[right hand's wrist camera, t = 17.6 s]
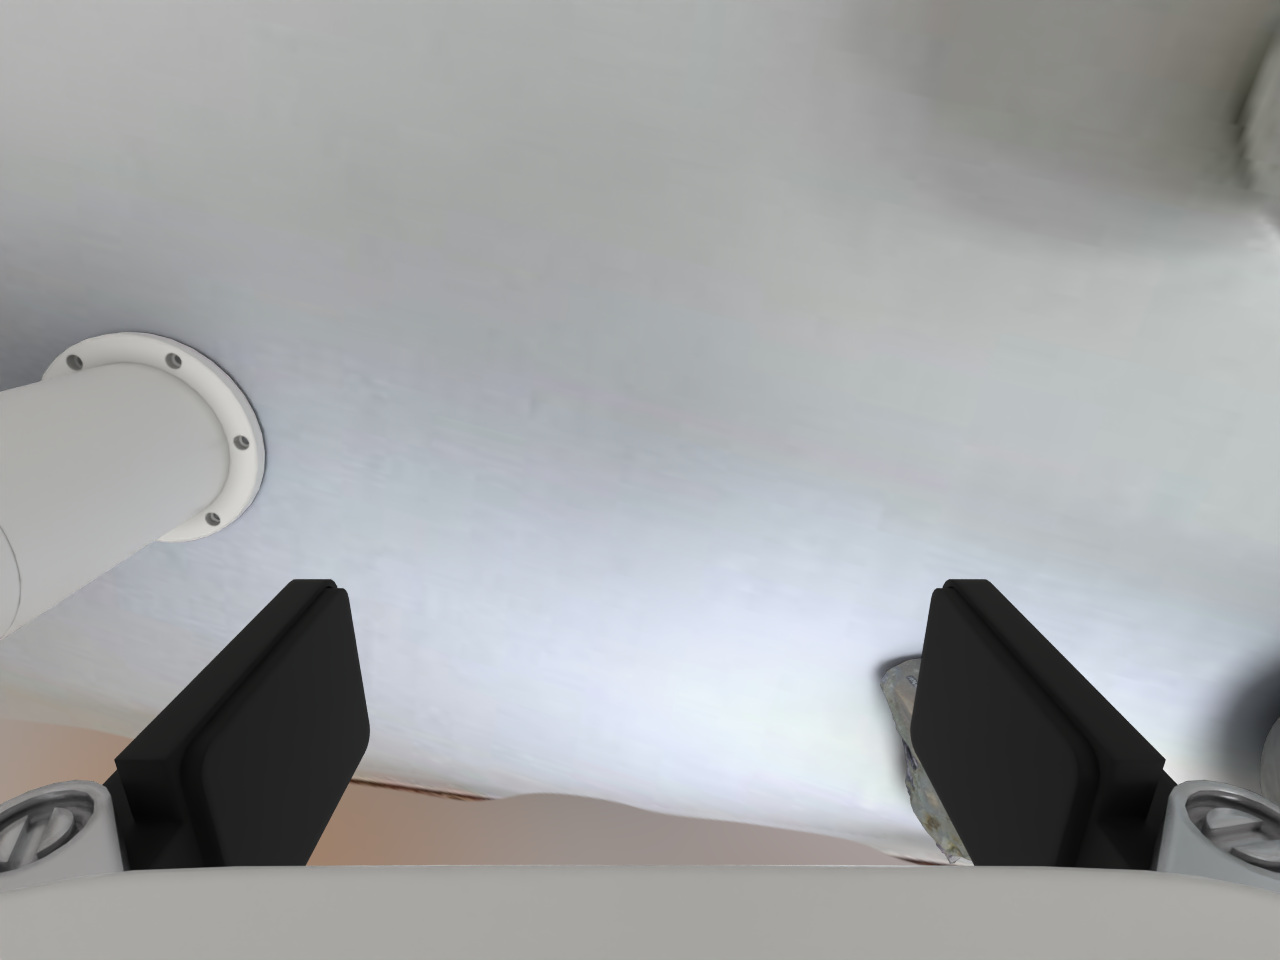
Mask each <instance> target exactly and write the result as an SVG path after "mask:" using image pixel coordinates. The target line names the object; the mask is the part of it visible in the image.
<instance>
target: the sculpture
mask: <svg viewBox="0 0 1280 960" xmlns="http://www.w3.org/2000/svg"><path fill="white" fill-rule="evenodd" d="M1260 785H1261V792H1262V796H1263V797H1265V798H1268V799H1270V800H1272V801H1274V802H1276V803H1278V804H1280V717H1279V718H1278V719H1277V720H1276V722H1275V723H1274V724H1273V726H1272V727H1271V729H1270V731H1269V733H1268V735H1267V737H1266V740H1265V744H1264V746H1263V751H1262V755H1261V763H1260Z"/></svg>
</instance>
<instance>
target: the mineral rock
mask: <svg viewBox="0 0 1280 960" xmlns="http://www.w3.org/2000/svg"><path fill="white" fill-rule="evenodd" d="M920 664H921V658H917V659H910V660H908V661H905V662H903V663H901V664H899V665H897V666H895V667H893V668H891V669H889V670H887V672H886V674H885V675H884V676H883V678H882V679H881V688H882V690H883V692H884V694H885V696H886V698H887V701H888V704H889V707H890V709H891V711H892V715H893V719H894V721H895V723H896V729H897V731H898V732H899V734H900V735H901V736H902V738H903V744H904V748H905V756H906V761H907V763H908V764H907V768H908V769H907V774H906V780H905V783H906V787H907V789H908V793H909V795H910V800H911V806H912V808H913V811H914V813H915V815H916V816H917V818H918V819H919V821H920V822H921V824H922V826H923V827H924V828H925V830H926V831H927V833H928V834H929V835H930V836H931V837H932V838H933V839H934V840H935V842H936V845H937V847H938V848H939V849H940V850H941V851H942V853H944V854H945V856H946V857H947V859H948V860H949V862H950V864H952V863H955V862H956V861H957V860H958V859H960V857H963V858H965V859H967V860H971V858H970V856H969V854H968V852H967V850H966V849H965V847H964V845H963V843H962V841H961V839H960V837H959V835H958V833H957V831H956V829H955V828H954V826H953V824H952V822H951V820H950V818H949V816H948V814H947V812H946V810H945V809H944V807H943V805H942V803H941V801H940V799H939V797H938V795H937V793H936V791H935V789H934V788H933V786H932V784H931V782H930V780H929V778H928V776H927V774H926V772H925V770H924V768H923V767H922V765H921V763H920V761H919V759H918V757H917V755H916V753H915V751H914V749H913V746H912V742H911V736H910V725H911V719H912V712H913V706H914V700H915V694H916V688H917V682H918V676H919V670H920ZM971 861H972V860H971Z"/></svg>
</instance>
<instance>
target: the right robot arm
mask: <svg viewBox="0 0 1280 960" xmlns="http://www.w3.org/2000/svg"><path fill="white" fill-rule="evenodd" d="M180 359H181V360H180ZM246 438H247V439H246ZM247 440H248V441H247ZM264 465H265V449H264V443H263V437H262V432H261V429H260V427H259V424H258V421H257V418H256V416H255V413H254V411H253V410H252V408H251V406H250V404H249V403H248V401H247V399H246V397H245V396H244V394H243V393H242V392H241V390H240V389H239V388H238V387H237V385H236V384H235V383H234V382H233V381H232V379H231V378H230V377H229V376H228V375H227V374H226V373H225V372H224V371H222V370H221V369H220V368H219V367H218V366H217V365H216V364H215V363H214V362H212V361H211V360H209V359H208V358H206V357H205V356H203V355H202V354H200V353H199V352H197V351H196V350H194V349H193V348H190V347H188V346H186V345H184V344H181V343H179V342H177V341H175V340H173V339H169V338H166V337H162V336H158V335H154V334H150V333H140V332H120V333H111V334H105V335H101V336H97V337H92V338H88V339H85V340H83V341H81V342H79V343H77V344H75V345H73V346H71V347H69V348H67V349H66V350H65V351H64V352H63V353H61V354H60V355H59V356H58V357H57V358H55V359H54V360H53V362H52V363H51V365H50V366H49V367H48V369H47V370H46V371H45V373H44V374H43V377H42V379H41V381H40V382H36V383H32V384H28V385H24V386H20V387H16V388H12V389H8V390H4V391H1V392H0V641H1V640H2V639H4V638H5V637H7V636H9V635H10V634H12V633H13V632H15V631H16V630H18V629H19V628H21V627H23V626H24V625H26V624H27V623H29V622H30V621H32V620H33V619H35V618H36V617H38V616H40V615H41V614H43V613H44V612H46V611H47V610H49V609H50V608H52V607H53V606H55V605H57V604H58V603H60V602H61V601H63V600H64V599H66V598H67V597H69V596H70V595H72V594H74V593H75V592H77V591H78V590H80V589H81V588H83V587H84V586H86V585H87V584H89V583H91V582H92V581H94V580H95V579H97V578H98V577H100V576H101V575H103V574H104V573H106V572H108V571H109V570H111V569H112V568H114V567H115V566H117V565H118V564H120V563H121V562H123V561H125V560H126V559H128V558H129V557H131V556H132V555H134V554H135V553H137V552H138V551H140V550H142V549H143V548H145V547H146V546H148V545H149V544H151V543H152V542H154V541H160V542H174V543H175V542H184V541H194V540H197V539H200V538H203V537H207V536H210V535H212V534H214V533H216V532H218V531H219V530H221V529H223V528H225V527H227V526H228V525H229V524H231V523H232V522H233V521H235V520H236V519H237V518H239V517H240V516H241V515H242V514H243V513H244V511H245V510H246V509H247V508H248V507H249V506H250V505H251V504H252V502H253V500H254V498H255V496H256V494H257V492H258V491H259V489H260V485H261V481H262V478H263V474H264ZM369 736H370V725H369V719H368V712H367V706H366V700H365V694H364V688H363V682H362V676H361V670H360V664H359V658H358V652H357V645H356V639H355V633H354V627H353V621H352V615H351V609H350V603H349V597H348V593H347V592H346V590H345V589H343V588H337V585H336V584H335V582H334V581H333V580H331V579H294V580H292V581H291V582H289V583H288V584H287V585H286V586H285V587H284V588H283V589H282V590H281V591H280V592H279V593H278V594H277V596H276V597H275V598H274V599H273V600H272V601H271V602H270V603H269V604H268V605H267V606H266V607H265V608H264V609H263V610H262V611H261V612H260V613H259V614H258V615H257V616H256V617H255V618H254V619H253V620H252V621H251V622H250V623H249V624H248V625H247V626H246V627H245V628H244V629H243V630H242V631H241V632H240V633H239V634H238V635H237V636H236V637H235V638H234V639H233V640H232V641H231V642H230V643H229V644H228V645H227V646H226V647H225V648H224V649H223V650H222V651H221V652H220V653H219V654H218V655H217V656H216V657H215V658H214V659H213V660H212V661H211V662H210V663H209V664H208V665H207V666H206V667H205V668H204V669H203V670H202V671H201V672H200V673H199V674H198V675H197V676H196V677H195V678H194V679H193V680H192V681H191V682H190V684H189V685H188V686H187V687H186V688H185V689H184V690H183V691H182V692H181V693H180V694H179V695H178V696H177V697H176V698H175V699H174V700H173V701H172V702H171V703H170V704H169V705H168V706H167V707H166V708H165V709H164V710H163V711H162V712H161V713H160V714H159V715H158V716H157V717H156V718H155V719H154V720H153V721H152V722H151V723H150V724H149V725H148V726H147V727H146V728H145V729H144V730H143V731H142V732H141V733H140V734H139V735H138V736H137V737H136V738H135V739H134V740H133V741H132V742H131V743H130V744H129V745H128V746H127V747H126V748H125V749H124V750H123V751H122V752H121V753H120V754H119V755H118V756H117V757H116V758H115V763H116V767H117V770H116V771H115V772H114V773H113V774H112V775H111V776H110V778H108V780H107V781H106V782H105V783H104V784H103V785H101V784H99V783H96V782H94V781H83V780H72V781H66V782H59V783H53V784H50V785H47V786H44V787H40V788H37V789H34V790H31V791H28V792H26V793H24V794H21V795H19V796H17V797H15V798H12V799H10V800H8V801H6V802H4V803H2V804H0V960H1280V804H1278V803H1276V802H1274V801H1272V800H1270V799H1268V798H1265V797H1263V796H1261V795H1259V794H1256V793H1254V792H1252V791H1250V790H1246V789H1243V788H1240V787H1237V786H1233V785H1230V784H1227V783H1221V782H1214V781H1208V780H1196V781H1186V782H1184V783H1181V784H1179V785H1177V784H1176V783H1175V782H1174V781H1173V780H1172V778H1171V777H1170V776H1169V775H1168V774H1167V773H1166V772H1165V771H1164V770H1163V767H1164V764H1165V760H1166V759H1165V758H1164V757H1163V756H1162V755H1161V754H1160V753H1159V752H1158V751H1157V750H1156V749H1155V748H1154V747H1153V746H1152V745H1151V744H1150V743H1149V742H1148V741H1147V740H1146V739H1145V738H1144V737H1143V736H1142V735H1141V734H1140V733H1139V732H1138V731H1137V730H1136V729H1135V728H1134V727H1133V726H1132V725H1131V724H1130V723H1129V722H1128V721H1127V720H1126V719H1125V718H1124V717H1123V716H1122V715H1121V714H1120V713H1119V712H1118V711H1117V710H1116V709H1115V708H1114V707H1113V706H1112V705H1111V704H1110V703H1109V702H1108V701H1107V700H1106V699H1105V698H1104V697H1103V696H1102V695H1101V694H1100V693H1099V692H1098V691H1097V690H1096V689H1095V688H1094V687H1093V686H1092V685H1091V684H1090V683H1089V681H1088V680H1087V679H1086V678H1085V677H1084V676H1083V675H1082V674H1081V673H1080V672H1079V671H1078V670H1077V669H1076V668H1075V667H1074V666H1073V665H1072V664H1071V663H1070V662H1069V661H1068V660H1067V659H1066V658H1065V657H1064V656H1063V655H1062V654H1061V653H1060V652H1059V651H1058V650H1057V649H1056V648H1055V647H1054V646H1053V645H1052V644H1051V643H1050V642H1049V641H1048V640H1047V639H1046V638H1045V637H1044V636H1043V635H1042V634H1041V633H1040V632H1039V631H1038V630H1037V629H1036V628H1035V627H1034V626H1033V625H1032V624H1031V623H1030V622H1029V621H1028V620H1027V619H1026V618H1025V617H1024V616H1023V615H1022V614H1021V613H1020V612H1019V611H1018V610H1017V609H1016V608H1015V607H1014V606H1013V605H1012V604H1011V603H1010V602H1009V601H1008V600H1007V599H1006V598H1005V597H1004V596H1003V594H1002V593H1001V592H1000V591H999V590H998V589H997V588H996V587H995V586H994V585H993V584H992V583H991V582H989V581H988V580H986V579H949V580H947V581H946V582H945V584H944V585H943V588H937V589H935V590H934V592H933V593H932V597H931V603H930V609H929V615H928V621H927V627H926V633H925V639H924V645H923V652H922V658H921V664H920V670H919V676H918V682H917V688H916V694H915V700H914V706H913V712H912V719H911V725H910V736H911V742H912V746H913V749H914V751H915V753H916V755H917V757H918V759H919V761H920V763H921V765H922V767H923V768H924V770H925V772H926V774H927V776H928V778H929V780H930V782H931V784H932V786H933V788H934V789H935V791H936V793H937V795H938V797H939V799H940V801H941V803H942V805H943V807H944V809H945V810H946V812H947V814H948V816H949V818H950V820H951V822H952V824H953V826H954V828H955V829H956V831H957V833H958V835H959V837H960V839H961V841H962V843H963V845H964V847H965V849H966V850H967V852H968V854H969V856H970V858H971V860H972V862H973V864H974V866H896V865H893V866H891V865H388V866H387V865H384V866H306V864H307V862H308V860H309V858H310V856H311V854H312V852H313V850H314V849H315V847H316V845H317V843H318V841H319V839H320V837H321V835H322V833H323V831H324V829H325V827H326V826H327V824H328V822H329V820H330V818H331V816H332V814H333V812H334V810H335V809H336V807H337V805H338V803H339V801H340V799H341V797H342V795H343V793H344V791H345V789H346V788H347V785H348V784H349V782H350V780H351V778H352V776H353V774H354V772H355V770H356V768H357V767H358V765H359V763H360V761H361V759H362V757H363V755H364V753H365V751H366V749H367V746H368V742H369Z"/></svg>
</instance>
